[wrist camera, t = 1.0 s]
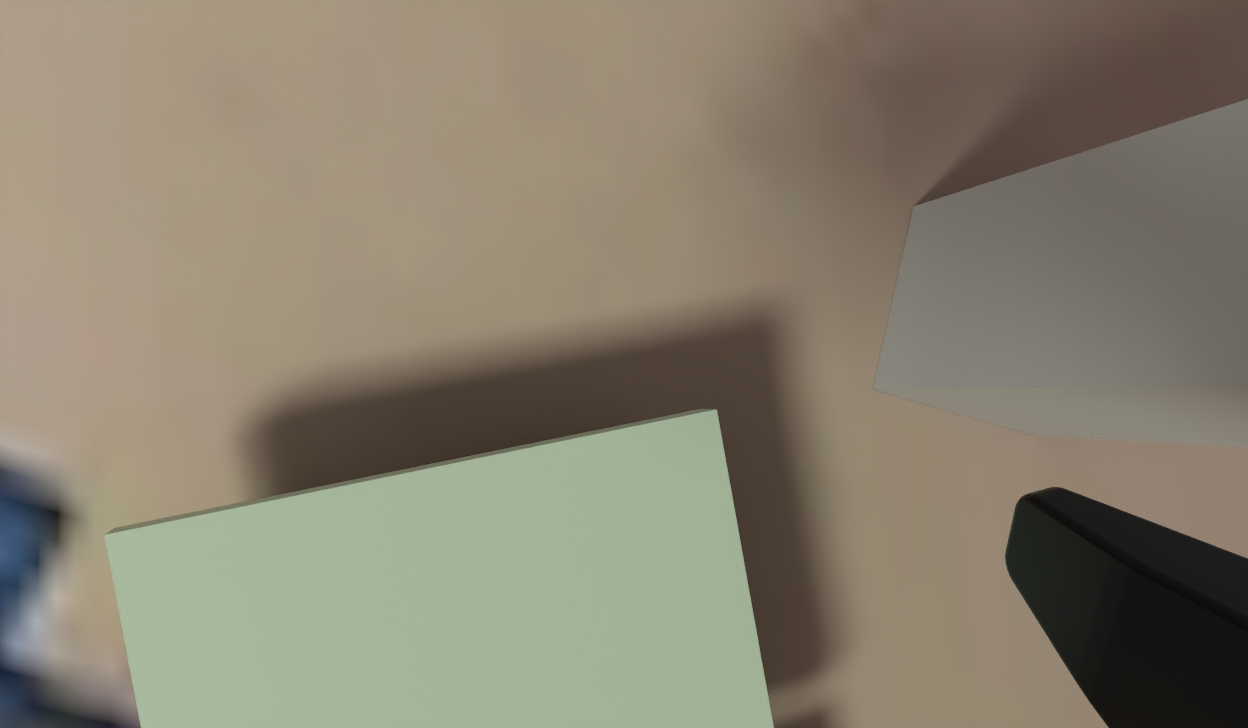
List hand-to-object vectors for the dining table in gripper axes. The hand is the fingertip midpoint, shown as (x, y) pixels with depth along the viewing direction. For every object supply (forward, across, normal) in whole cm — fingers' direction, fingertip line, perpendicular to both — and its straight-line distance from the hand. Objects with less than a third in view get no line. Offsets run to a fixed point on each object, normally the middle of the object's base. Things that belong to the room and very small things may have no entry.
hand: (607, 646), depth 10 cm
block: (+13, -15, +7) cm, 21 cm away
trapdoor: (+9, 0, +9) cm, 13 cm away
